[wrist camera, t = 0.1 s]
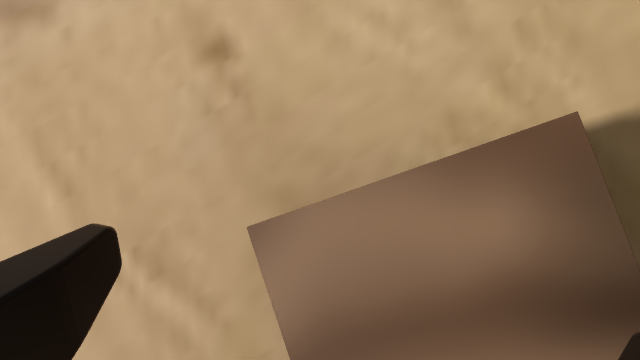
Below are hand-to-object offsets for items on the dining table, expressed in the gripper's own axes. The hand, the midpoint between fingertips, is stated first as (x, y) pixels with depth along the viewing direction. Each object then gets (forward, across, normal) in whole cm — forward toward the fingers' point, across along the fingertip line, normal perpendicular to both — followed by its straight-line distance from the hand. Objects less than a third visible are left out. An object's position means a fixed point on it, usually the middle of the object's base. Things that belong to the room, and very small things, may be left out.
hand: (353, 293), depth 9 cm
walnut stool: (+11, -4, +10) cm, 16 cm away
